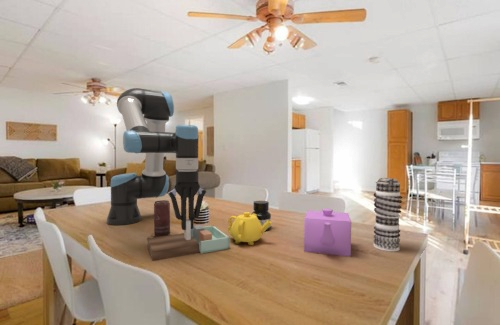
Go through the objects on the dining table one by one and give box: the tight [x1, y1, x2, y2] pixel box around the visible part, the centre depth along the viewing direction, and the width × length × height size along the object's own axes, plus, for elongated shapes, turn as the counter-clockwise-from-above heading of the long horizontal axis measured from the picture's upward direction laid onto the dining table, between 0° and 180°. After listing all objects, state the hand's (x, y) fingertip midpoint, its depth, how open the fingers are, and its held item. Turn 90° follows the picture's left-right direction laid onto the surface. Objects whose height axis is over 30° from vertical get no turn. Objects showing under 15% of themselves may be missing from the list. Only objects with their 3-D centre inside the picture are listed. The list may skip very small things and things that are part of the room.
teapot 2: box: [303, 208, 352, 257], centre depth 94 cm, size 15×25×14 cm, turn 164°
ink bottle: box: [250, 200, 272, 231], centre depth 118 cm, size 10×9×12 cm
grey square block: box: [193, 224, 205, 242], centre depth 100 cm, size 5×5×3 cm
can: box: [153, 199, 171, 237], centre depth 108 cm, size 6×6×14 cm
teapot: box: [226, 211, 273, 246], centre depth 101 cm, size 14×14×11 cm
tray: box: [191, 225, 231, 255], centre depth 98 cm, size 17×10×4 cm, turn 28°
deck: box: [147, 232, 200, 261], centre depth 92 cm, size 14×15×3 cm
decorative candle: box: [373, 177, 403, 252], centre depth 95 cm, size 9×9×25 cm
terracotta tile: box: [200, 230, 212, 241], centre depth 93 cm, size 5×5×3 cm
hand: (187, 238), depth 91 cm, fingers closed
